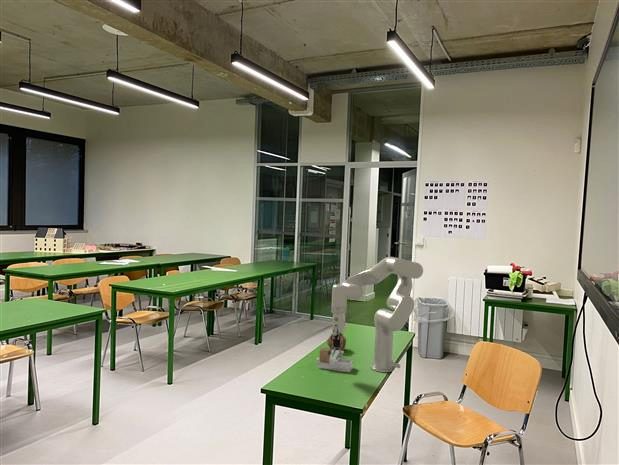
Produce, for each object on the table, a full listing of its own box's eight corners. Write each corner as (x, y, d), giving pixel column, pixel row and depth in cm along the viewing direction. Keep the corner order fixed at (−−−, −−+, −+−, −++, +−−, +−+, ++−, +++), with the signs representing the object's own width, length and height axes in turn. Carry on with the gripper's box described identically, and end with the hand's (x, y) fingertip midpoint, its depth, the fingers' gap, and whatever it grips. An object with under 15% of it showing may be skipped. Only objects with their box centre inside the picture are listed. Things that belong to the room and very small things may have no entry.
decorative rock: (342, 354, 254) (343, 337, 254) (323, 351, 258) (324, 334, 258) (348, 348, 267) (349, 332, 266) (331, 345, 271) (331, 329, 270)
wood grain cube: (342, 345, 221) (343, 334, 221) (340, 348, 217) (341, 336, 217) (332, 344, 223) (332, 332, 223) (330, 347, 219) (330, 335, 218)
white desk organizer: (352, 367, 232) (353, 350, 232) (349, 372, 224) (350, 355, 224) (321, 363, 237) (322, 346, 237) (317, 367, 229) (318, 350, 229)
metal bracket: (322, 344, 253) (347, 348, 249) (322, 353, 255) (347, 357, 250) (315, 358, 240) (341, 362, 236) (315, 367, 242) (342, 371, 237)
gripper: (342, 313, 210) (341, 351, 211) (349, 306, 226) (348, 341, 227) (327, 312, 212) (326, 349, 213) (335, 305, 228) (334, 340, 229)
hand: (337, 345), depth 220 cm, fingers closed on wood grain cube, 4 cm apart
